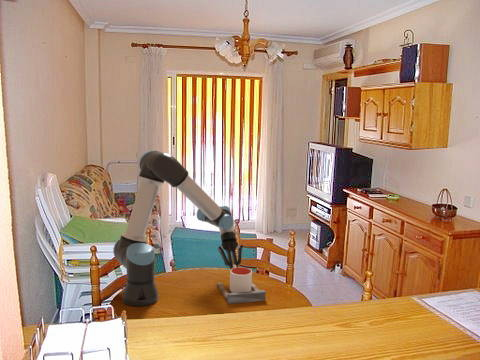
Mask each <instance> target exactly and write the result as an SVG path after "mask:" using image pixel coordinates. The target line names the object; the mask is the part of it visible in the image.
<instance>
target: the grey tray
mask: <svg viewBox="0 0 480 360" xmlns="http://www.w3.org/2000/svg"><path fill="white" fill-rule="evenodd" d="M216 286H217V288H218V290H219V291H220V293H221V295H222V296H223V298H224V299H225V301H226V303H227V304H228V305H233V304H242V303H255V302H261V301H263V302H264V301H266V296H267V295H266V294H267V292H266V291H265V290H264V289H261V290H260V289H259V288H258V287H257V285H256V284H255V283H254V281H252V283H251V291H248V292H237V293H232V292H228V290H227V289H226V288H225V286H224V284H223V283H222V282H217V283H216Z"/></svg>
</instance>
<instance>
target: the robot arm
mask: <svg viewBox="0 0 480 360" xmlns="http://www.w3.org/2000/svg"><path fill="white" fill-rule="evenodd" d="M138 161H139V163H138V166H139V169H140V171H139V174H138V178H139V180H140V183H139V186H138V190H137V194H136V197H135V199H134V204H133V207H132V210H131V214H130V217H129V221H128V223H127V226H126V230H125V231H124V232H122V233H120V234H121V235H120V238H119V239H118V240H117V241H116V242H115V244H114V246H113V248H112V249H113V251H112V252H113V255H114V258H115V260H116V261H117V262H118V263H119V264H121V266H122V267H124V268H125V269H126V284H125V286H124V290H123V293H122V296H121V297H122V302H123V303H124V304H125V305H128V306H132V307H145V306H149V305H150V306H151V305H152V304H155V303H156V302H157V301H158V299H159V291H158V289H157V286H156V282H155V266H156V265H155V263H156V261H155V260H156V254H155V249H154V247H153V246H152V245H150V244H149V243H147V238H146V233H147V228H148V225H149V223H150V218H151V216H152V212H153V209H154V205H155V201H156V199H157V195H158V192H159V188H160V186H161V185H163V184H164V183H167V184H169V185H170V186H171V187H172V188H176V189H178V191H180V192H181V194H182V195H184V196H185V197H186V198H187V199H188V200H189V201H190V202H191V203H192V204H193V205H194V207H196V208H197V212H196V219H197V220H198V221H200V222H203V223H204V222H205V223H208V224H210V225H212V226H215V227H217V228H218V229H219V235H220V241H221V245H220V246H218V248H217V251H218V252H219V254H220V256H221V258H222V260H223V262H224V265H225V266H226V267H227V266H228V267H229V269H230V270H231V269H233V268H236V267H239V266H240V265H241V263H242V253H243V252H242V251H243V248H244V246H243V245H242V244H241V245H240V244H239V243H238V241H237V237H236V232H235V227H234V223H235V221H234V220H235V219H234V218H233V215H232V211H231V209H230V207H229V206H227V205H221V206H219V205H218V204H217V203H216V202H215V200H213V199H212V198H211V196H210V195H208V193H206V191H204V189H202V187H200V185H199V184H198V183H197V182H196V181H195V180H193V179H192V177H191V176H190V174H189V171H188V169H186V168H185V166H183V165H182V164H181V163H180V161H179V160H177V159H176V157H174V155H172V154H170V153H168V152H162V151H159V150H149V151H146V152H145V153H143V154H142V155H141V157H140V159H139V160H138ZM236 251H237V252H236ZM230 270H229V271H230Z"/></svg>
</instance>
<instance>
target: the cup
mask: <svg viewBox="0 0 480 360" xmlns="http://www.w3.org/2000/svg"><path fill="white" fill-rule="evenodd" d="M229 271H230V272H229V291H230V293H237V292H248V291H252V289H251V283H252V282H253V281H252V280H253V279H252V278H253V271H252V269H250V268H247V267H244V266H243V267H242V266H238V267H236V268H233V269H231V270H229Z"/></svg>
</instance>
